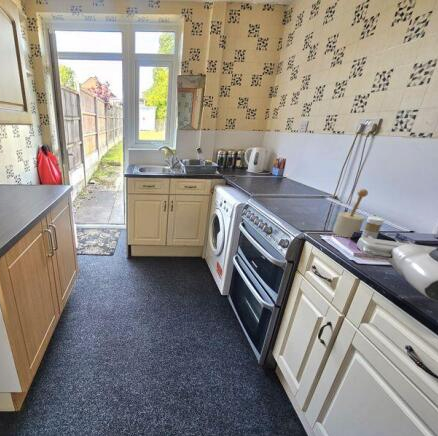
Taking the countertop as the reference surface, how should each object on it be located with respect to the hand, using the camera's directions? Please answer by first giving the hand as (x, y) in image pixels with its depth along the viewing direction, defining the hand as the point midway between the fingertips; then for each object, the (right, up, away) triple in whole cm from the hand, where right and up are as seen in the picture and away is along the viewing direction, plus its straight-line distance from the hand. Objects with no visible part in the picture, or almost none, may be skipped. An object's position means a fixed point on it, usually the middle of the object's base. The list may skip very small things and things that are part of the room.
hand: (387, 240), depth 83 cm
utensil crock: (+7, 0, +27) cm, 28 cm away
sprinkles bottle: (+4, -5, +14) cm, 15 cm away
